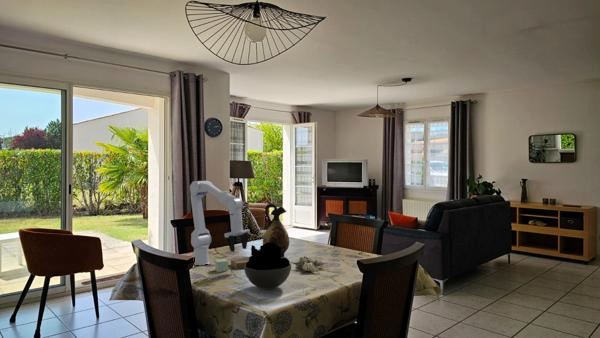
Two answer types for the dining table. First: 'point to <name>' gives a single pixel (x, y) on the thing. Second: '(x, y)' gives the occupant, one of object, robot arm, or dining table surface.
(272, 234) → the ceramic jug
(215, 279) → the dining table surface
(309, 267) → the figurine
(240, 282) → the dining table surface
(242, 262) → the base block
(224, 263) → the cube
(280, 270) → the coal bowl
